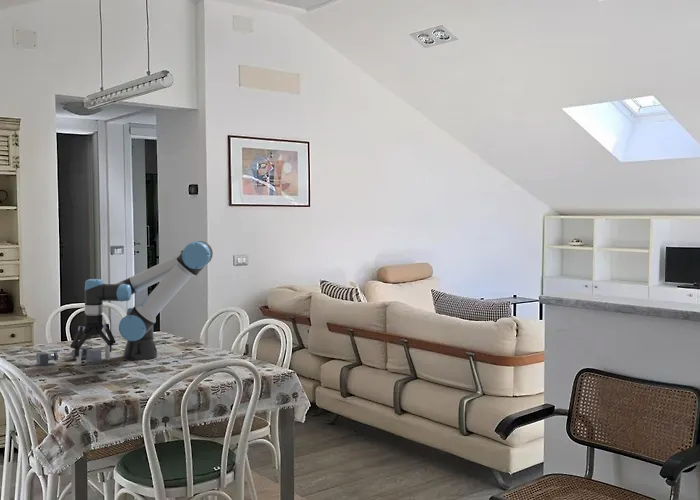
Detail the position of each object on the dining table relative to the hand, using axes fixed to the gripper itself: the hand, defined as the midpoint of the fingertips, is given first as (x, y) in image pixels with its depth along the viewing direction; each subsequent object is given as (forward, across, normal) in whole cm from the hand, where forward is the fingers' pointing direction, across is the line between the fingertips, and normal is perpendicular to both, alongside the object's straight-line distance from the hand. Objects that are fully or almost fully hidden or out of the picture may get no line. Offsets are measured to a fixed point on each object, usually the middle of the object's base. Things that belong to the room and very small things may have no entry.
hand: (93, 361), depth 320 cm
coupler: (+1, 0, 0) cm, 1 cm away
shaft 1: (+1, +15, -12) cm, 19 cm away
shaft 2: (+1, 0, -12) cm, 12 cm away
